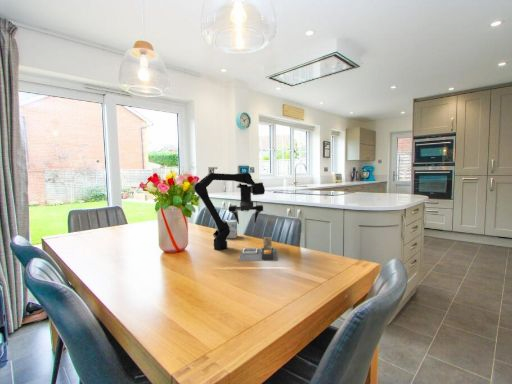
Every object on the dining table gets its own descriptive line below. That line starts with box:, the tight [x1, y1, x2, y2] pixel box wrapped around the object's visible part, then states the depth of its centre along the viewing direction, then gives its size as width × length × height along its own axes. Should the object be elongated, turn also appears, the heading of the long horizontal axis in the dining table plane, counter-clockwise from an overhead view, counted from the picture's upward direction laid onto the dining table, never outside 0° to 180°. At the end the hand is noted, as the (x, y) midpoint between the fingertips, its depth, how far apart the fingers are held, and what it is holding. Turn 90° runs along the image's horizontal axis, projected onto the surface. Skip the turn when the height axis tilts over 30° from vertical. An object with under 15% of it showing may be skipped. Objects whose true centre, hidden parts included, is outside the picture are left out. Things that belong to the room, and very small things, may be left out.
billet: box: [263, 236, 273, 251], centre depth 132 cm, size 4×4×7 cm
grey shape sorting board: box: [238, 247, 278, 262], centre depth 128 cm, size 18×18×4 cm
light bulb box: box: [221, 219, 238, 239], centre depth 168 cm, size 11×7×11 cm, turn 84°
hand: (246, 223), depth 145 cm, fingers open, 9 cm apart
